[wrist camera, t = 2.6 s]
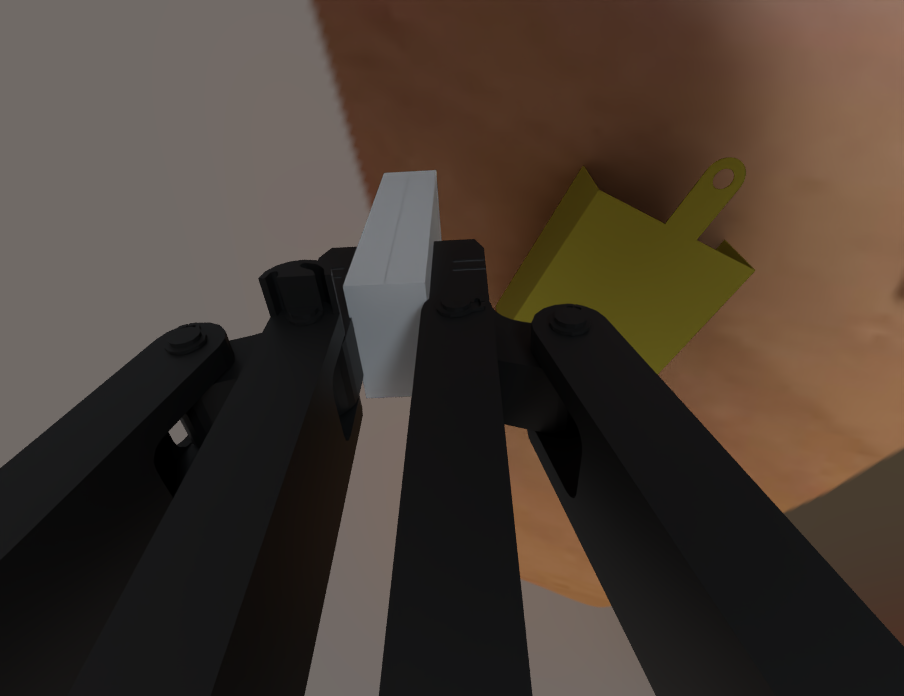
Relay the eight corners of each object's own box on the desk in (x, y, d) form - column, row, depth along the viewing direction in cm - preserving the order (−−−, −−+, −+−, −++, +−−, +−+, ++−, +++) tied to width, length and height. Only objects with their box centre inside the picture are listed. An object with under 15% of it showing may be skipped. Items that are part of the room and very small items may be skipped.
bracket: (901, 257, 23) (682, 453, 32) (808, 197, 30) (645, 374, 38) (628, 99, 20) (458, 369, 28) (587, 68, 26) (458, 296, 34)
